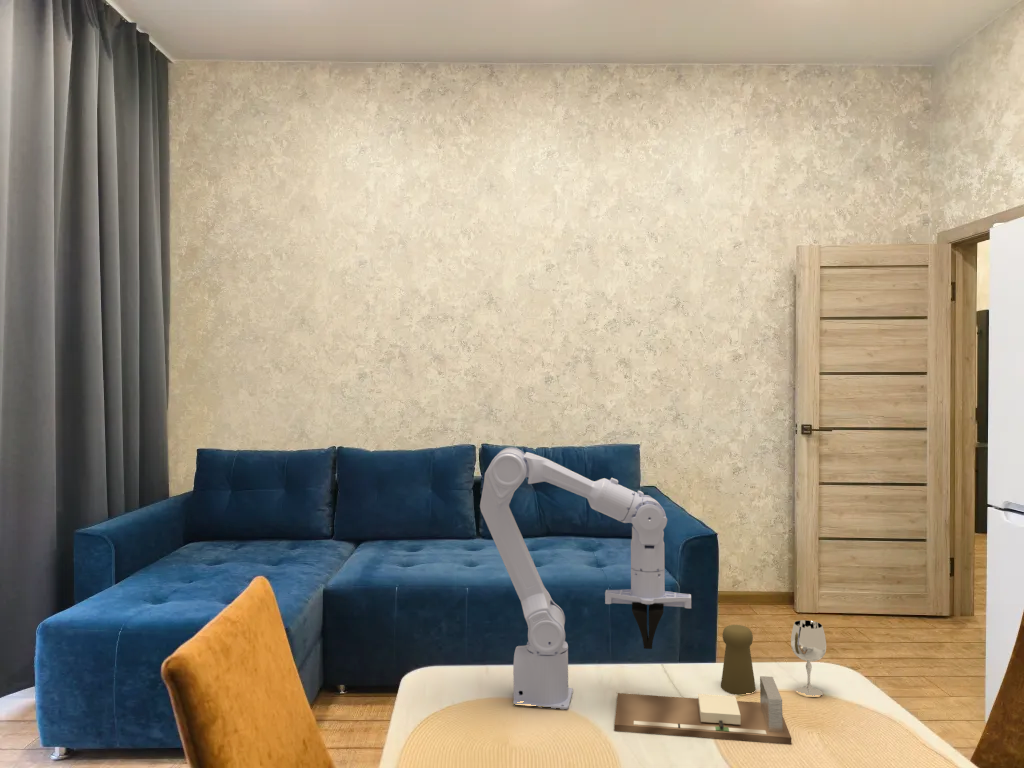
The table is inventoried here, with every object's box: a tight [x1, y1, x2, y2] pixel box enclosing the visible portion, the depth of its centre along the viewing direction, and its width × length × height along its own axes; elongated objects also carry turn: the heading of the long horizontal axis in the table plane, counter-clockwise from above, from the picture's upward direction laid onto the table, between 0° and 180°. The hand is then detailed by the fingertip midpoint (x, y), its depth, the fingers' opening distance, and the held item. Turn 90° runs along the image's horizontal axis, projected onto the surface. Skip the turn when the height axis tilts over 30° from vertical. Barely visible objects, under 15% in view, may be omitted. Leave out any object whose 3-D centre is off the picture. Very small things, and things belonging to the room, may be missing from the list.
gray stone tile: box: [759, 675, 783, 732], centre depth 117 cm, size 2×9×5 cm, turn 169°
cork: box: [720, 624, 757, 695], centre depth 132 cm, size 6×6×11 cm
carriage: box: [697, 693, 741, 729], centre depth 118 cm, size 6×9×2 cm, turn 169°
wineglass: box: [790, 619, 827, 696], centre depth 129 cm, size 6×6×12 cm
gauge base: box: [613, 692, 792, 745], centre depth 119 cm, size 26×12×1 cm, turn 79°
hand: (648, 646), depth 127 cm, fingers closed
